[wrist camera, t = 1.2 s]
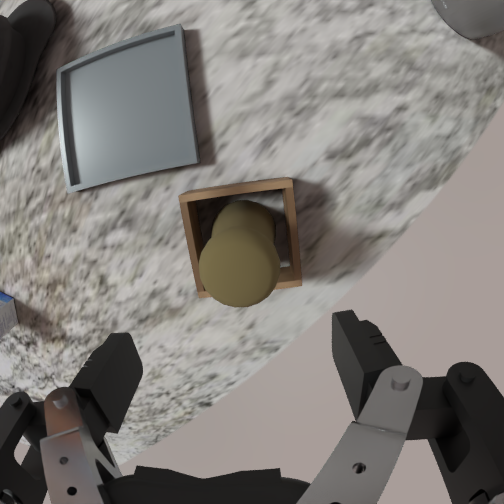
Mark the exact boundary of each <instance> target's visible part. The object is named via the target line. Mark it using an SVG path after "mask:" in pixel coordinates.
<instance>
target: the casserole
mask: <svg viewBox="0 0 504 504" xmlns="http://www.w3.org/2000/svg"><path fill="white" fill-rule="evenodd" d="M55 23H56V12H55V9H54V7H53V5H52V4H51V3H50V2H49V1H48V0H27V1H25V2H24V3H22V4H21V5H19V6H18V7H17V8H16V9H15V10H14V11H13V12H12V14H11V15H10V16H9V17H8V18H6V17H4V16H2V15H0V140H2V138H3V137H4V136H5V134H6V133H7V132H8V130H9V129H10V127H11V126H12V124H13V122H14V121H15V119H16V118H17V116H18V114H19V112H20V110H21V108H22V106H23V104H24V101H25V99H26V96H27V94H28V91H29V89H30V86H31V83H32V79H33V76H34V73H35V70H36V67H37V64H38V61H39V58H40V56H41V54H42V52H43V50H44V48H45V46H46V44H47V42H48V40H49V38H50V36H51V34H52V32H53V31H54V27H55Z"/></svg>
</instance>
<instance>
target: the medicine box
mask: <svg viewBox="0 0 504 504" xmlns="http://www.w3.org/2000/svg"><path fill="white" fill-rule="evenodd" d="M17 323H18V320H17V314H16V309H15V304H14V298H12V297H10V296H8V295H6V294H4V293H2V292H0V339H1V338H2V337H3V336H4V335H5V334H6V333H7V332H8V331H10V330H11V329H12V328H13V327H14V326H15V325H16V324H17Z"/></svg>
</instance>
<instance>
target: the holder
mask: <svg viewBox="0 0 504 504" xmlns="http://www.w3.org/2000/svg"><path fill="white" fill-rule="evenodd" d="M281 188H282V194H283V203H284V212H285V221H286V230H287V240H288V250H289V260H290V266H289V267H281V268H280V276H279V279H278V282H277V285H276V287H275V288H274V290H275V289H283V288H291V287H298V286H302V277H301V265H300V253H299V241H298V230H297V220H296V210H295V201H294V192H293V183H292V179H290V178H288V177H283V178H274V179H266V180H258V181H250V182H243V183H236V184H229V185H222V186H215V187H209V188H203V189H196V190H190V191H187V192H185V193H183V194H181V195H179V202H180V208H181V213H182V219H183V224H184V229H185V234H186V240H187V245H188V250H189V254H190V259H191V264H192V269H193V273H194V278H195V283H196V287H197V292H198V296H199V298H206V297H212V296H211V295H210V294H209V293H208V292H207V291H206V290H205V288H204V286H203V284H202V281H201V279H200V273H199V260H200V256H201V252H202V250H203V249H204V245H203V240H202V235H201V229H200V223H199V218H198V212H197V206H196V200H201V199H207V198H214V197H220V196H227V195H234V194H241V193H249V192H256V191H264V190H272V189H281Z"/></svg>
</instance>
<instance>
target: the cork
mask: <svg viewBox="0 0 504 504" xmlns="http://www.w3.org/2000/svg"><path fill="white" fill-rule="evenodd" d="M275 236H276V228H275V223H274V220H273V218H272V216H271V214H270V213H269V212H268V211H267V209H266V208H264V207H263V206H261V205H260V204H258V203H256V202H252V201H249V200H239V201H235V202H232V203H229V204H227V205H226V206H224V207H223V208H222V209H221V210H220V211H219V212H218V214H217V215H216V217H215V218H214V221H213V225H212V238H211V239H209V241H208V242H207V244H206V246H205V247H204V249H203V250H202V252H201V256H200V260H199V273H200V279H201V281H202V284H203V286H204V288H205V290H206V291H207V292H208V293H209V294H210V295H211V296H212V297H213V298H214V299H215V300H217V301H219V302H220V303H222V304H224V305H228V306H232V307H249V306H252V305H255V304H258V303H260V302H261V301H263V300H264V299H265V298H267V297H268V296H269V295H270V294H271V292H272V291H273V290H274V288H275V287H276V285H277V282H278V279H279V276H280V259H279V256H278V253H277V251H276V248H275V246H274V241H275Z"/></svg>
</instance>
